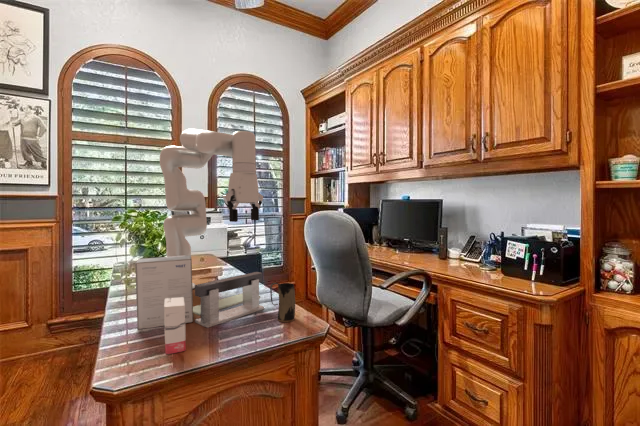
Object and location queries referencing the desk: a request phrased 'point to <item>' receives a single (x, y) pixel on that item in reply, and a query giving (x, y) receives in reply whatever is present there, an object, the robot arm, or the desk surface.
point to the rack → (214, 317)
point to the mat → (223, 303)
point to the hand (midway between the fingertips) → (244, 220)
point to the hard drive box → (162, 288)
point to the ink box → (174, 325)
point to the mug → (285, 302)
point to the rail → (227, 283)
